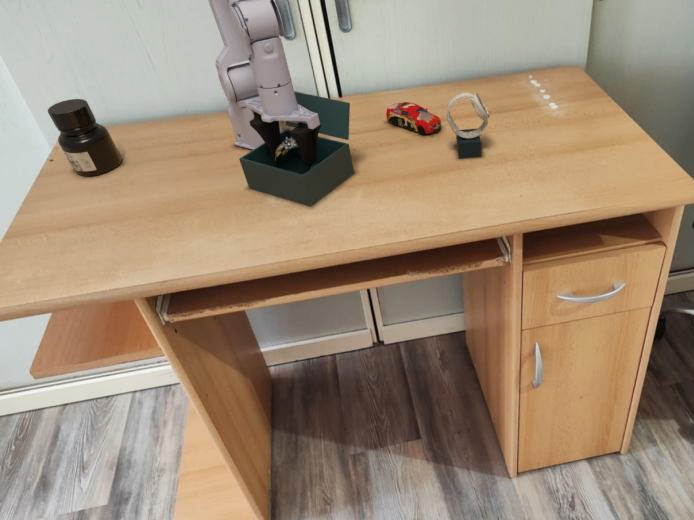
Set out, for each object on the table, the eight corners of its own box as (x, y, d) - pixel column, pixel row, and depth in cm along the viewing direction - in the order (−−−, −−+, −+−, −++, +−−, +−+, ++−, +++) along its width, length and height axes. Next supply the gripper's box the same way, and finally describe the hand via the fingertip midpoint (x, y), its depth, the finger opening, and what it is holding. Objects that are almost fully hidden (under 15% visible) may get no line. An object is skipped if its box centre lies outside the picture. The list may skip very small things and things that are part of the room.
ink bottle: (67, 167, 116) (33, 107, 107) (110, 150, 120) (80, 92, 112) (87, 182, 111) (52, 121, 103) (131, 164, 115) (101, 104, 107)
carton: (294, 157, 114) (286, 128, 110) (354, 173, 109) (348, 143, 105) (249, 188, 107) (238, 158, 103) (311, 206, 101) (302, 176, 97)
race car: (446, 129, 120) (445, 110, 117) (429, 139, 117) (427, 119, 114) (401, 113, 126) (399, 94, 124) (383, 122, 124) (381, 103, 121)
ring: (317, 172, 109) (307, 131, 103) (319, 180, 107) (309, 139, 101) (280, 179, 108) (268, 138, 102) (281, 187, 105) (269, 146, 100)
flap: (285, 125, 110) (287, 125, 110) (347, 140, 104) (348, 139, 104) (285, 89, 107) (286, 89, 107) (348, 102, 101) (350, 102, 101)
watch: (491, 156, 111) (491, 98, 103) (449, 159, 111) (446, 102, 103) (488, 142, 115) (487, 86, 107) (447, 145, 115) (444, 89, 107)
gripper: (224, 84, 95) (249, 160, 105) (291, 98, 89) (311, 177, 99) (254, 69, 99) (275, 144, 109) (319, 81, 94) (336, 159, 103)
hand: (294, 159), depth 104 cm, fingers open, 7 cm apart
